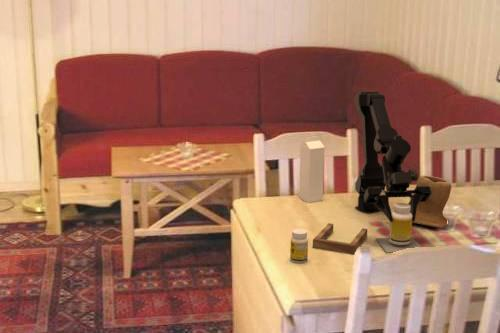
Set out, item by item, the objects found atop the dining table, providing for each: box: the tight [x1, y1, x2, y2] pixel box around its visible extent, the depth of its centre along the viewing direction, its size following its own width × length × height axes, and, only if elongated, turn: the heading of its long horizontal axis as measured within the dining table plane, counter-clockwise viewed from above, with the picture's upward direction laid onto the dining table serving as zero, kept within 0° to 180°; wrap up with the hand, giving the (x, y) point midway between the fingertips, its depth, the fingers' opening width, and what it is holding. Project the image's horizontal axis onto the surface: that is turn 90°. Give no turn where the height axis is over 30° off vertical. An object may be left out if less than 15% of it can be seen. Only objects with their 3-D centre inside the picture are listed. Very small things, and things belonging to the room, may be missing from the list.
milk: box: [298, 135, 326, 204], centre depth 253 cm, size 6×6×22 cm
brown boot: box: [412, 175, 452, 228], centre depth 232 cm, size 15×12×15 cm
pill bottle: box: [388, 202, 413, 245], centre depth 212 cm, size 6×6×11 cm
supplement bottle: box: [289, 228, 309, 264], centre depth 202 cm, size 5×5×8 cm
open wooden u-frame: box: [312, 222, 368, 255], centre depth 216 cm, size 15×12×2 cm
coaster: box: [375, 236, 422, 255], centre depth 214 cm, size 11×11×1 cm
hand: (402, 221), depth 211 cm, fingers closed on pill bottle, 6 cm apart
